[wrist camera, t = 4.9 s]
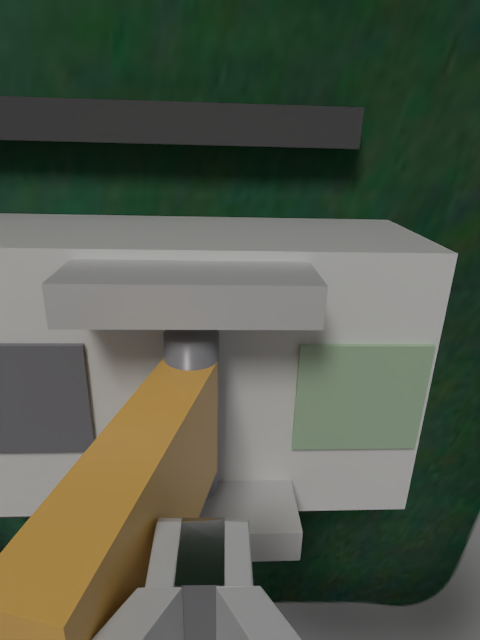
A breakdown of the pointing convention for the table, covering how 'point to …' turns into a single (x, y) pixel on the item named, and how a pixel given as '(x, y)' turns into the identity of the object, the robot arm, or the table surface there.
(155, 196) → the table surface
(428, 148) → the table surface
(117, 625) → the robot arm
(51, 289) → the white slotted housing
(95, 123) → the dark grey long bar
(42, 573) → the lever
